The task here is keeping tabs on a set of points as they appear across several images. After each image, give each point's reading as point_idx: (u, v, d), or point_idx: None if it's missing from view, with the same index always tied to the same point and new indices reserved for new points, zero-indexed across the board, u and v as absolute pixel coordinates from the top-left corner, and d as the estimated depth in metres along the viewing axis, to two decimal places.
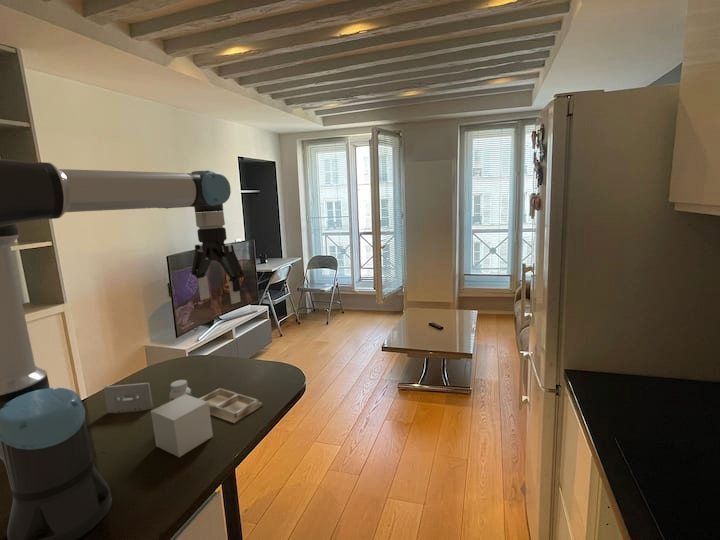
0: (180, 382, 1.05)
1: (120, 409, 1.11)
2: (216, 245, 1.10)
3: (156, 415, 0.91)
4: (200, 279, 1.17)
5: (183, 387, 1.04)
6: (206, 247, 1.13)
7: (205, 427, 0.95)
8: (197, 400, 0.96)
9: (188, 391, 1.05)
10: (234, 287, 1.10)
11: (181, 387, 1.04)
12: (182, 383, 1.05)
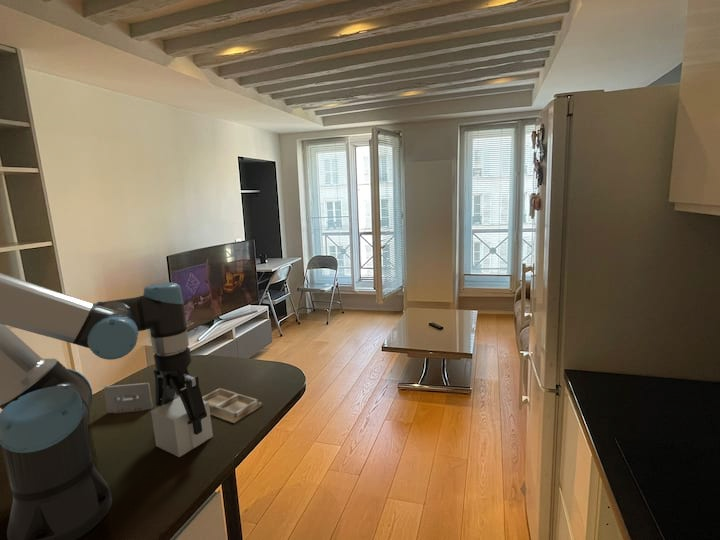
0: None
1: (120, 409, 1.11)
2: (178, 374, 0.90)
3: (156, 415, 0.91)
4: None
5: None
6: (165, 372, 0.92)
7: (205, 427, 0.95)
8: None
9: None
10: (194, 429, 0.91)
11: None
12: None
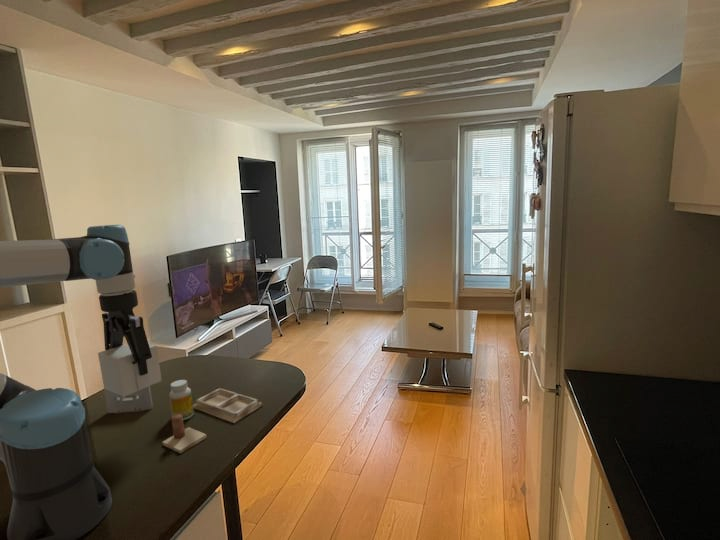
0: (180, 382, 1.05)
1: (120, 409, 1.11)
2: (122, 315, 0.90)
3: (102, 356, 0.92)
4: None
5: (183, 387, 1.04)
6: (112, 314, 0.93)
7: (153, 370, 0.95)
8: None
9: (188, 391, 1.05)
10: (140, 370, 0.91)
11: (181, 387, 1.04)
12: (182, 383, 1.05)
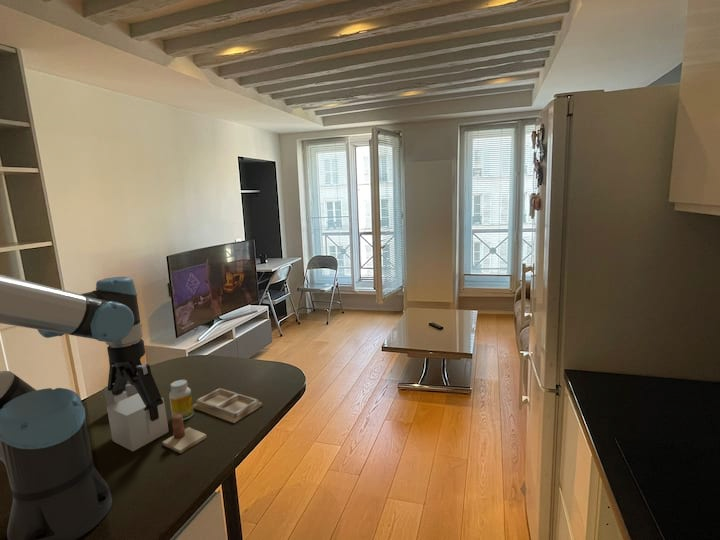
0: (180, 382, 1.05)
1: None
2: (130, 365, 0.92)
3: (111, 411, 0.94)
4: (117, 397, 0.99)
5: (183, 387, 1.04)
6: (120, 364, 0.95)
7: (160, 422, 0.98)
8: None
9: (188, 391, 1.05)
10: (151, 416, 0.92)
11: (181, 387, 1.04)
12: (182, 383, 1.05)
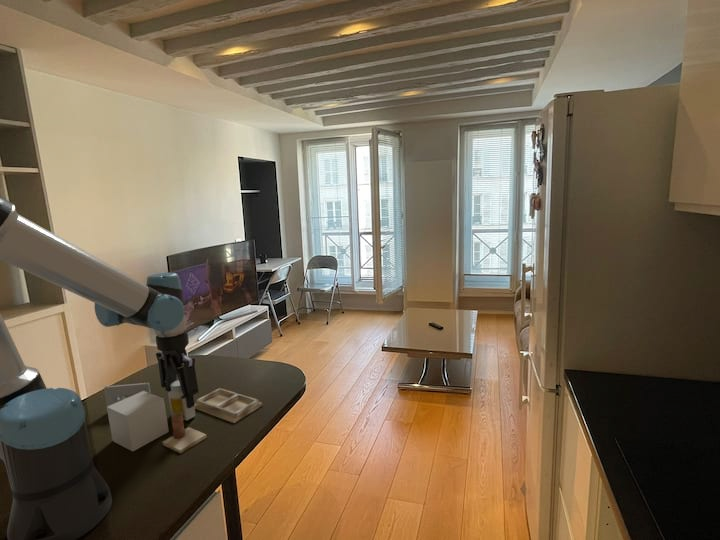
0: None
1: None
2: (177, 353, 1.01)
3: (111, 411, 0.94)
4: None
5: None
6: (165, 351, 1.04)
7: (160, 422, 0.98)
8: (153, 396, 0.99)
9: None
10: (187, 403, 1.03)
11: None
12: None
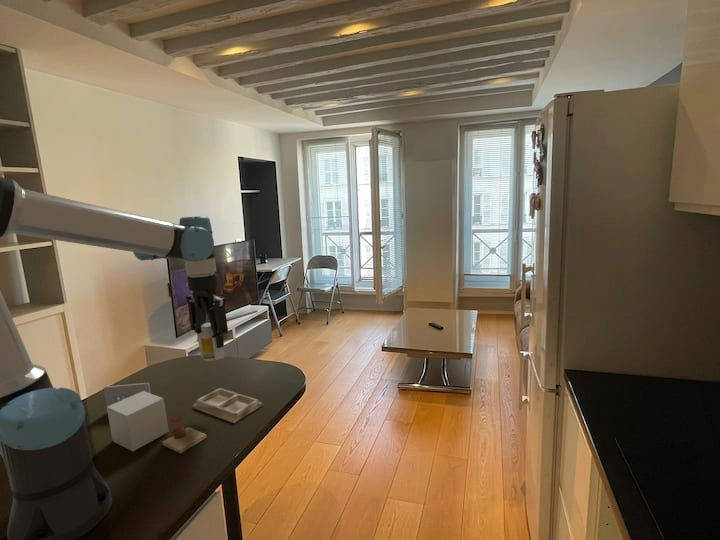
0: (210, 324, 1.09)
1: None
2: (208, 294, 1.05)
3: (111, 411, 0.94)
4: None
5: None
6: (196, 293, 1.07)
7: (160, 423, 0.98)
8: (153, 396, 0.99)
9: None
10: (217, 343, 1.07)
11: None
12: None
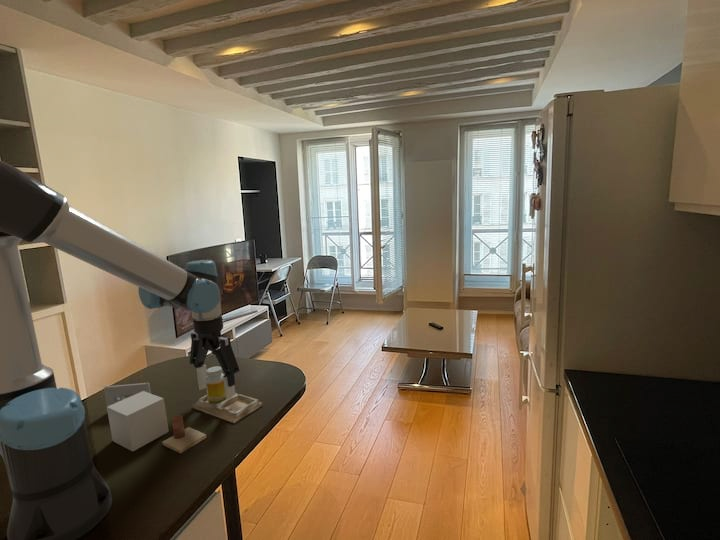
0: (215, 368, 1.11)
1: None
2: (213, 336, 1.07)
3: (111, 411, 0.94)
4: (199, 369, 1.13)
5: (218, 373, 1.10)
6: (202, 336, 1.09)
7: (160, 423, 0.98)
8: (153, 396, 0.99)
9: None
10: (229, 382, 1.07)
11: (217, 372, 1.09)
12: (217, 369, 1.10)
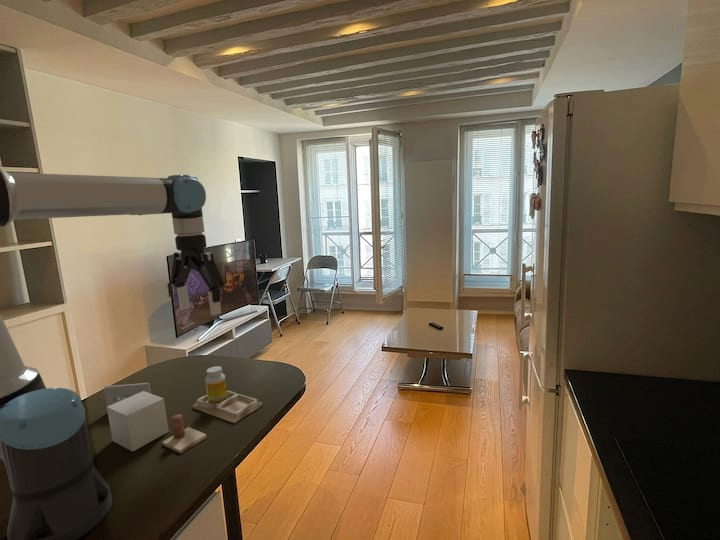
0: (215, 368, 1.11)
1: None
2: (195, 253, 1.05)
3: (111, 411, 0.94)
4: (179, 289, 1.11)
5: (219, 373, 1.10)
6: (185, 255, 1.07)
7: (160, 422, 0.98)
8: (153, 396, 0.99)
9: (223, 377, 1.11)
10: (214, 298, 1.04)
11: (217, 372, 1.09)
12: (217, 369, 1.10)
